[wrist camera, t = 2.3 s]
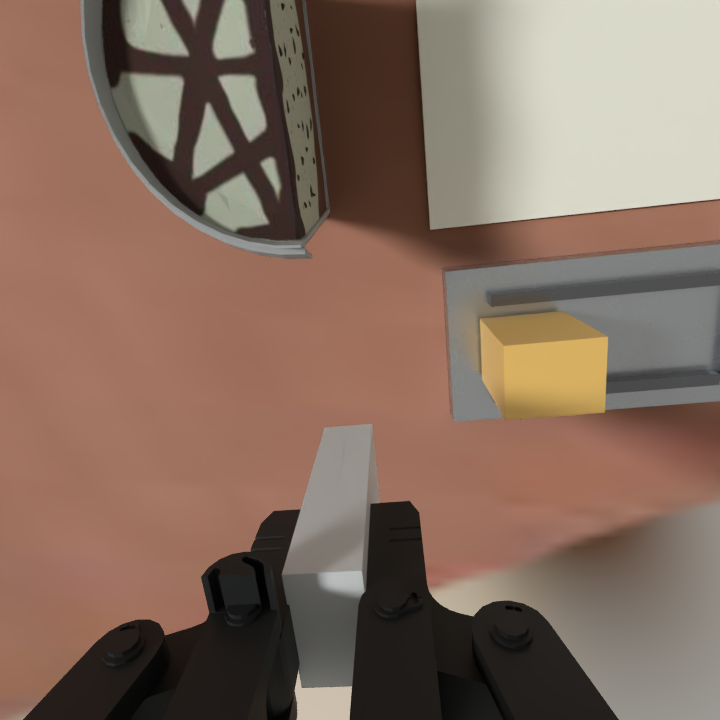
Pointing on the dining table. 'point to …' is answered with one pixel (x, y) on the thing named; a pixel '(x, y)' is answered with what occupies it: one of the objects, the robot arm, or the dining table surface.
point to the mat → (567, 106)
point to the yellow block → (543, 365)
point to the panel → (599, 320)
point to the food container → (215, 113)
